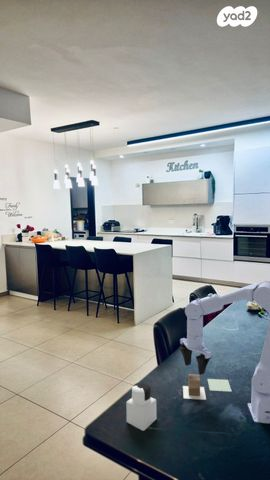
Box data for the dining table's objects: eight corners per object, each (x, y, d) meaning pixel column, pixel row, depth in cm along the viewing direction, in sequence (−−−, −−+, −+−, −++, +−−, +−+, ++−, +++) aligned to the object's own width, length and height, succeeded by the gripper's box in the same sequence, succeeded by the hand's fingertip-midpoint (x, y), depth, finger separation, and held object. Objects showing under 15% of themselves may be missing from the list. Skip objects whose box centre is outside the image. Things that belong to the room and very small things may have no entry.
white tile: (206, 400, 112) (206, 399, 112) (183, 399, 113) (183, 398, 113) (203, 388, 120) (203, 386, 120) (182, 386, 121) (182, 385, 121)
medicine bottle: (139, 411, 107) (139, 377, 106) (156, 419, 102) (156, 385, 101) (126, 422, 101) (125, 387, 100) (143, 432, 97) (143, 395, 96)
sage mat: (231, 392, 117) (231, 391, 117) (209, 391, 118) (209, 390, 118) (227, 380, 125) (227, 379, 125) (207, 379, 126) (207, 378, 126)
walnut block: (200, 395, 114) (200, 380, 114) (188, 395, 115) (189, 379, 114) (199, 389, 118) (199, 374, 118) (188, 389, 119) (188, 374, 118)
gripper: (217, 338, 110) (216, 374, 112) (190, 325, 123) (190, 358, 124) (202, 342, 107) (202, 380, 108) (176, 328, 119) (175, 363, 120)
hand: (194, 369), depth 116 cm, fingers open, 7 cm apart
